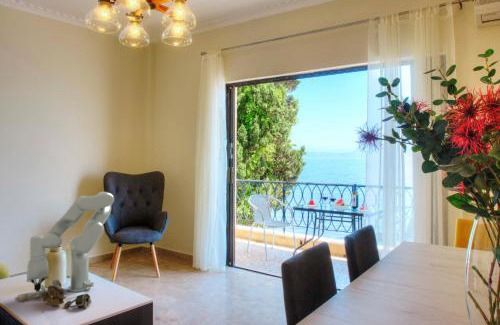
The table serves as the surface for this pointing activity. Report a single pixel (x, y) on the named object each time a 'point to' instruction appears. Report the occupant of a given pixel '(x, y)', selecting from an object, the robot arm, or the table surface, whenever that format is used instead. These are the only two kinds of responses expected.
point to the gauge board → (35, 294)
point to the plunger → (43, 288)
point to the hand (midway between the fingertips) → (37, 290)
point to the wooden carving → (54, 295)
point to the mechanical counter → (80, 301)
